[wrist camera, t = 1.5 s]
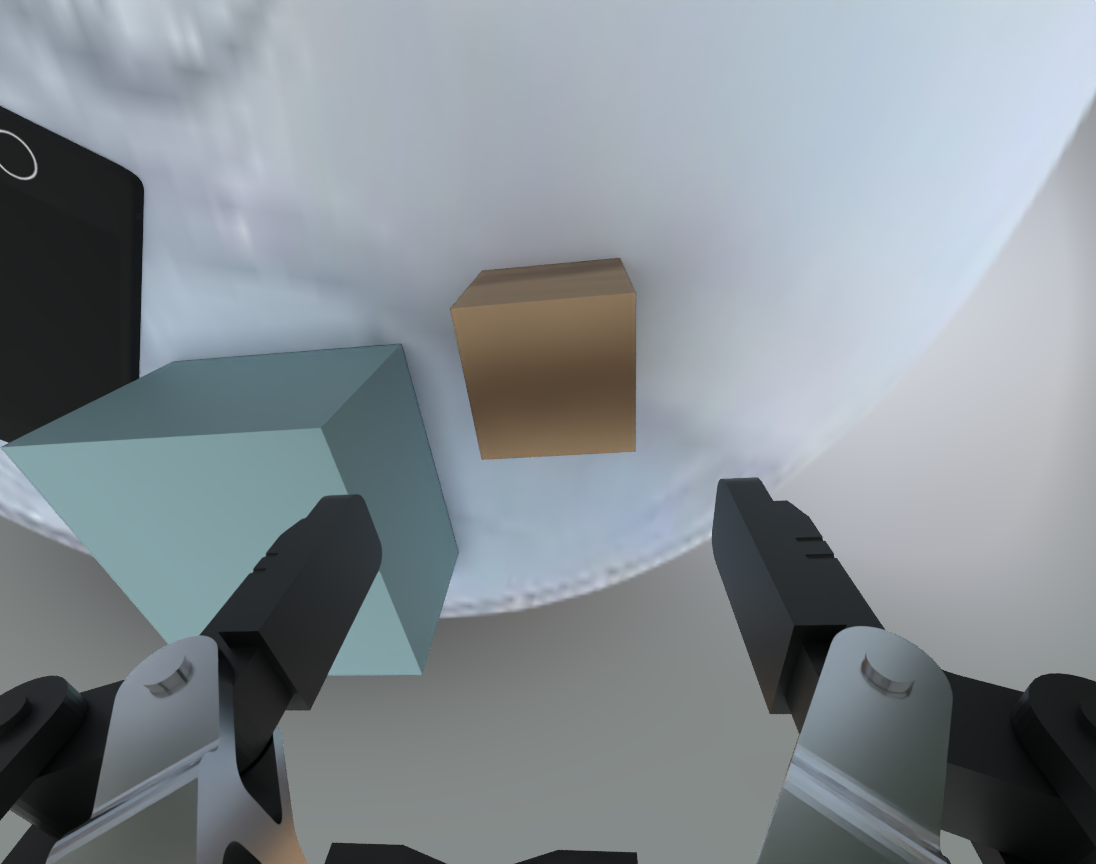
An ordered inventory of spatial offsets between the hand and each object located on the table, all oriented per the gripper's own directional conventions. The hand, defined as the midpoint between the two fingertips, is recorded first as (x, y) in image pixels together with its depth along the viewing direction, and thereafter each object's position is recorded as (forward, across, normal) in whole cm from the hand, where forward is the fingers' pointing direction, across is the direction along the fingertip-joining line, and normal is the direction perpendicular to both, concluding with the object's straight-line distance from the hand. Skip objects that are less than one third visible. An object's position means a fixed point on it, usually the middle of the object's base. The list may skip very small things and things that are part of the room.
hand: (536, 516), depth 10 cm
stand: (+13, +14, +7) cm, 20 cm away
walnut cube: (+13, 0, 0) cm, 13 cm away
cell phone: (+13, +25, -3) cm, 28 cm away
